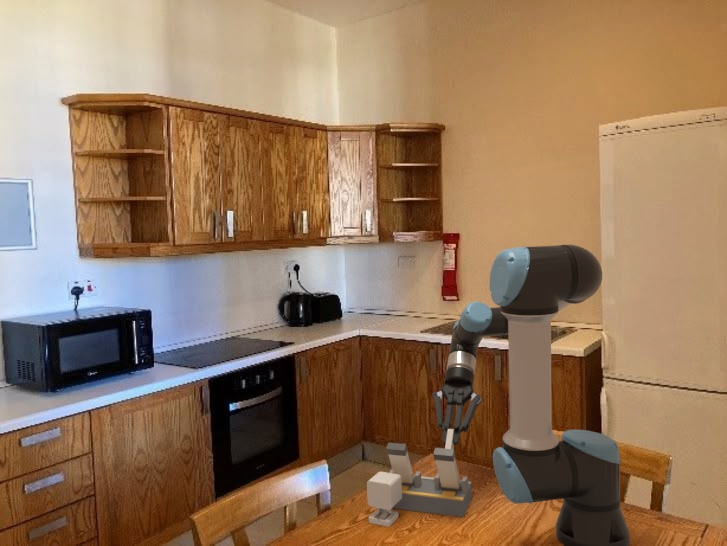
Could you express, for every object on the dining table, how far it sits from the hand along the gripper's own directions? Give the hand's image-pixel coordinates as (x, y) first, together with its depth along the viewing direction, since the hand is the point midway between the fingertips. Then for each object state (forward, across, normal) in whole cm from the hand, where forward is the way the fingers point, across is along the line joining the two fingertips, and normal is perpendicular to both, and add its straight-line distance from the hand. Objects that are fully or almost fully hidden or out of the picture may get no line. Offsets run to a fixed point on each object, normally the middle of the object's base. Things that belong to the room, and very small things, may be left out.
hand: (448, 455), depth 154 cm
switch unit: (+8, +6, -10) cm, 15 cm away
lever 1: (+5, +12, -7) cm, 15 cm away
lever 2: (+5, 0, -7) cm, 8 cm away
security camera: (+16, +14, -3) cm, 21 cm away
